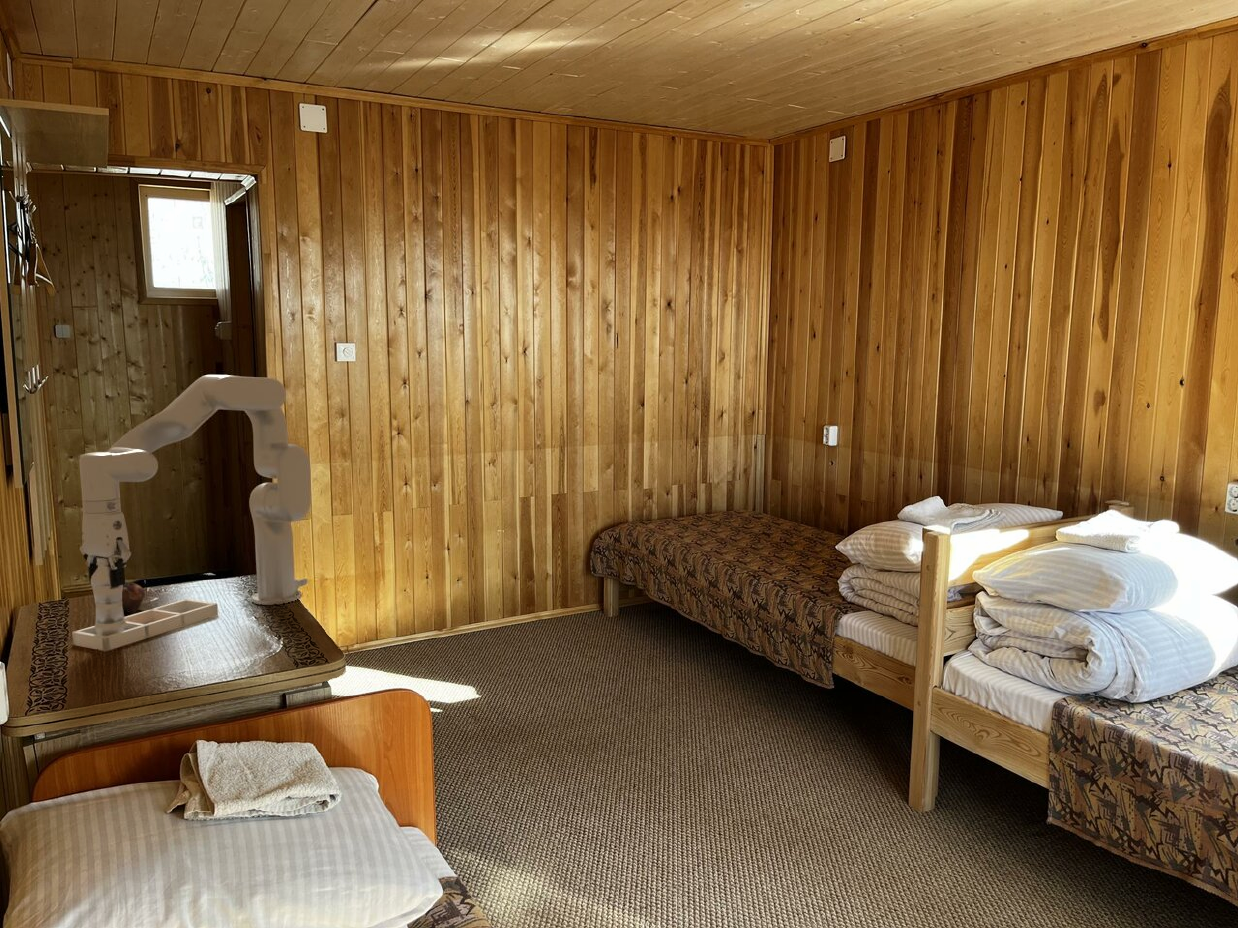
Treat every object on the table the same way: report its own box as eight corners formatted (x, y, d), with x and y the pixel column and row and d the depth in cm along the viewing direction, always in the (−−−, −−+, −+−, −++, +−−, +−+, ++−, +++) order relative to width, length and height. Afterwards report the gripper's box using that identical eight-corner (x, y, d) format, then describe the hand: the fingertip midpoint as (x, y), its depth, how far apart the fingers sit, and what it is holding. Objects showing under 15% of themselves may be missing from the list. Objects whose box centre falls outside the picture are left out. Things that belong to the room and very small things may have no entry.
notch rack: (186, 610, 239) (186, 598, 238) (217, 615, 234) (217, 603, 234) (73, 644, 211) (72, 632, 210) (106, 651, 206) (105, 638, 206)
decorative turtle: (102, 622, 229) (98, 590, 228) (105, 611, 242) (101, 581, 241) (146, 615, 233) (142, 584, 232) (147, 604, 246) (143, 575, 246)
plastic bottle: (118, 645, 210) (113, 559, 208) (89, 645, 210) (82, 559, 208) (133, 636, 217) (128, 553, 214) (104, 636, 217) (98, 553, 214)
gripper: (143, 506, 210) (148, 584, 212) (91, 501, 217) (96, 576, 219) (112, 512, 203) (118, 591, 205) (60, 506, 210) (66, 583, 212)
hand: (107, 583), depth 212 cm, fingers closed on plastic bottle, 6 cm apart
